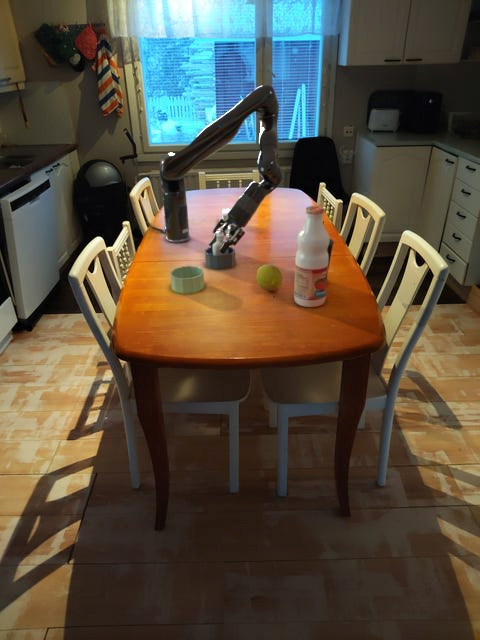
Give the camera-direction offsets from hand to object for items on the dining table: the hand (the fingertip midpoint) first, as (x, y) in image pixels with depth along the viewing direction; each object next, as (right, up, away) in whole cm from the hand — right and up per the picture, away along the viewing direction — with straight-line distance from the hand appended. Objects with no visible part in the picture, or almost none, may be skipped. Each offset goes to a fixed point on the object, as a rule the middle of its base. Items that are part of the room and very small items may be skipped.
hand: (215, 249), depth 161 cm
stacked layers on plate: (+3, +19, +46) cm, 50 cm away
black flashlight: (+34, -12, -11) cm, 38 cm away
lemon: (+18, -15, -15) cm, 28 cm away
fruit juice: (+29, -19, -23) cm, 42 cm away
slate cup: (+2, -5, +4) cm, 6 cm away
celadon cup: (-8, -14, -13) cm, 20 cm away
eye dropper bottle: (+2, -5, +4) cm, 6 cm away
